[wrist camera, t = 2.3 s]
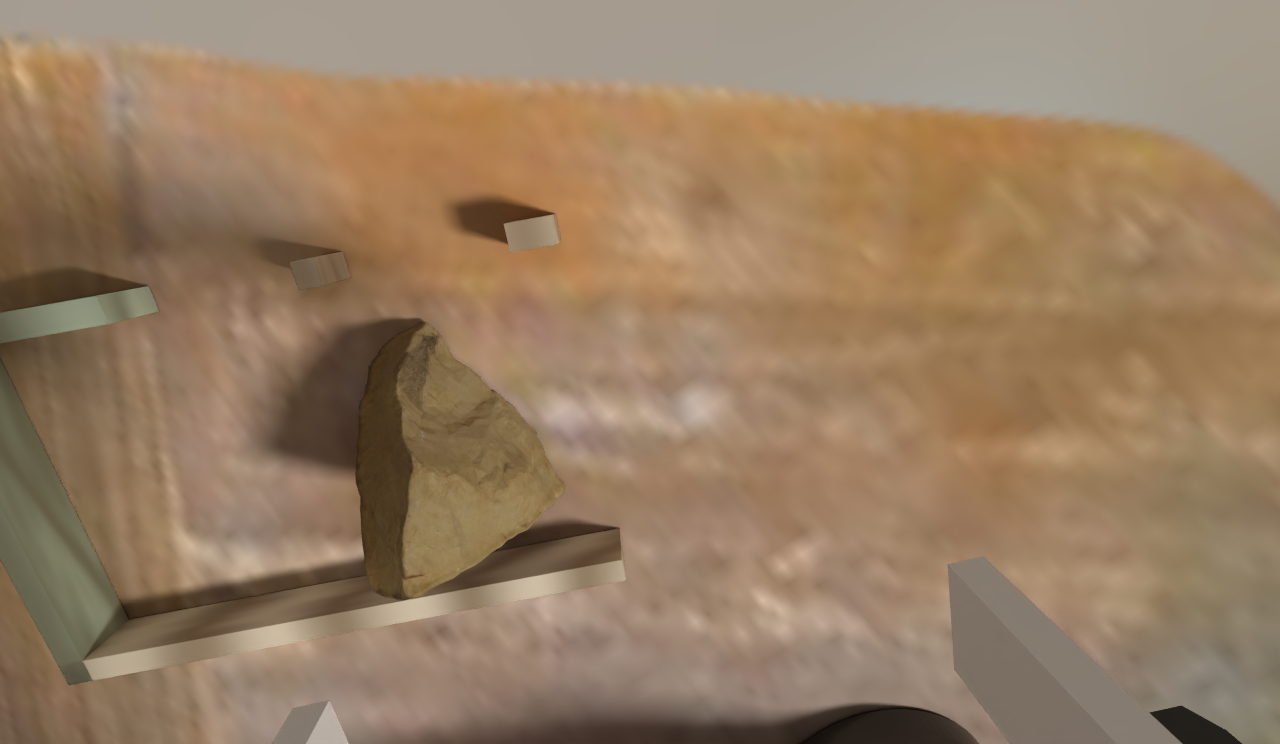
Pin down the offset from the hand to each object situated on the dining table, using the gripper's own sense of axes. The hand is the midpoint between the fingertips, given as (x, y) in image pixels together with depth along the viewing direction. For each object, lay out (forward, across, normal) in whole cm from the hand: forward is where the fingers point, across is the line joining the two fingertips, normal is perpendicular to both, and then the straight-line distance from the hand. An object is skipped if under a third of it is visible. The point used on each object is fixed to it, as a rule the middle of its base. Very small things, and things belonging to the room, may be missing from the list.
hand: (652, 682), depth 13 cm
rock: (+19, +7, -1) cm, 20 cm away
